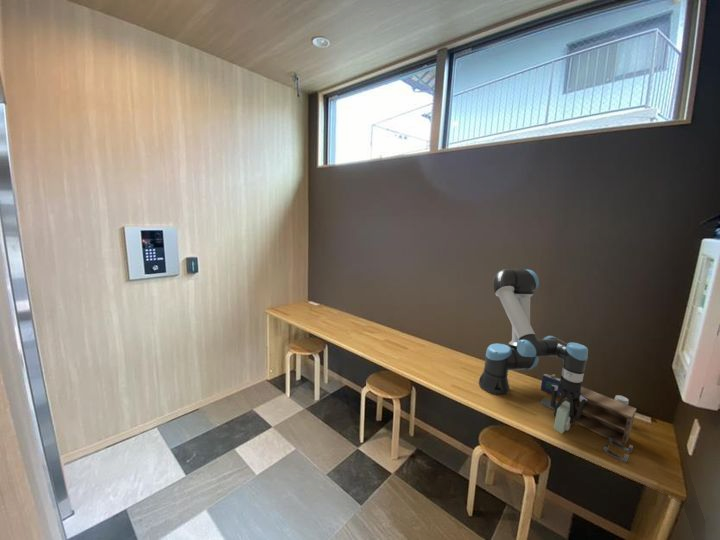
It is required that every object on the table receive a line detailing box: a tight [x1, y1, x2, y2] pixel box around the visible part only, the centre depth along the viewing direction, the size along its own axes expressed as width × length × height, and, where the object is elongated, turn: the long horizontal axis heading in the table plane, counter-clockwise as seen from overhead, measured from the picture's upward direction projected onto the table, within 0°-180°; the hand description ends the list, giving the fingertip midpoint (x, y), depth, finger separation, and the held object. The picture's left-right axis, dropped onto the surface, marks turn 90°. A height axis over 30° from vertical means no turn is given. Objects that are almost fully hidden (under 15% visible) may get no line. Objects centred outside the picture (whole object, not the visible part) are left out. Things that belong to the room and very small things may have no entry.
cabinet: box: [566, 386, 637, 447], centre depth 132 cm, size 22×9×14 cm, turn 38°
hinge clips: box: [603, 436, 634, 464], centre depth 119 cm, size 7×10×2 cm
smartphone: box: [539, 397, 558, 411], centre depth 145 cm, size 8×1×15 cm
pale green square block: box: [553, 400, 570, 434], centre depth 131 cm, size 4×10×10 cm, turn 128°
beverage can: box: [613, 394, 630, 405], centre depth 136 cm, size 5×5×12 cm
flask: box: [540, 373, 561, 397], centre depth 157 cm, size 9×3×11 cm, turn 51°
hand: (562, 426), depth 132 cm, fingers closed on pale green square block, 3 cm apart
